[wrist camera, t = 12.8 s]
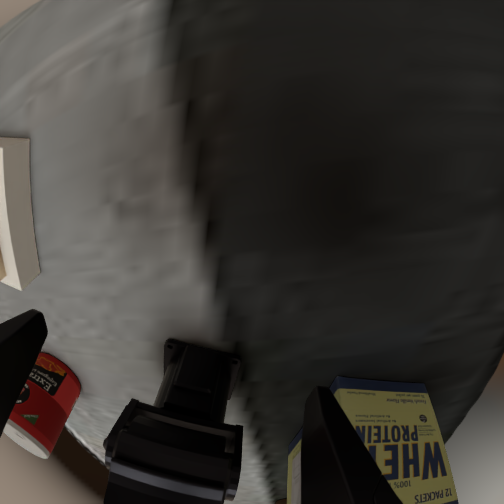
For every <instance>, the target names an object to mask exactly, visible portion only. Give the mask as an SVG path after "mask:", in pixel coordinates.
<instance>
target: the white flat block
mask: <svg viewBox="0 0 504 504" xmlns="http://www.w3.org/2000/svg"><path fill="white" fill-rule="evenodd" d="M0 248H1V253H2V258H3V262H4V266H5V271H6V275H7V276H6V277H4V278H3V279H2V280H1V281H0V282H3V283H5V284H7V285H9V286H11V287H14V288H16V289H18V290H21V291H22V290H23V289H24V288H25V287H26V286H27V285H28V284H30V283H31V282H32V281H33V280H34V279H35V278H36V277H37V276H38V275H39V274H40V273H41V272H40V267H39V261H38V255H37V248H36V241H35V233H34V225H33V215H32V204H31V189H30V139H26V138H6V137H0Z"/></svg>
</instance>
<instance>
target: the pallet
mask: <svg viewBox="0 0 504 504" xmlns="http://www.w3.org/2000/svg"><path fill="white" fill-rule="evenodd" d="M6 276H7V275H6V271H5V266H4V262H3V258H2V253H1V248H0V281H1V280H2V279H3V278H4V277H6Z"/></svg>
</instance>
